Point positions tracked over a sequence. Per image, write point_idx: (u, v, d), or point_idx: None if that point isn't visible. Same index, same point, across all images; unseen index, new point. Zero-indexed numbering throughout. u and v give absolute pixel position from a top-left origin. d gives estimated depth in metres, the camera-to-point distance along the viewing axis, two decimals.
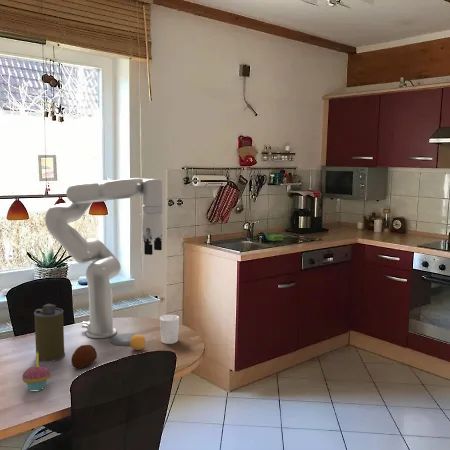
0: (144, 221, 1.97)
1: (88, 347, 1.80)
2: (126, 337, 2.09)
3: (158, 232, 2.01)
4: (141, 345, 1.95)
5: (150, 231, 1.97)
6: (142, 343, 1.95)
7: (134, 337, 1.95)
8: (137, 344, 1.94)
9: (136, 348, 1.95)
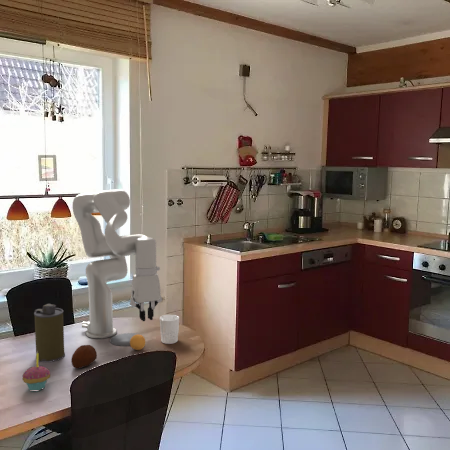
0: (132, 282, 1.84)
1: (88, 347, 1.80)
2: (126, 337, 2.09)
3: (148, 296, 1.84)
4: (141, 345, 1.95)
5: (134, 294, 1.82)
6: (142, 343, 1.95)
7: (134, 337, 1.95)
8: (137, 344, 1.94)
9: (136, 348, 1.95)
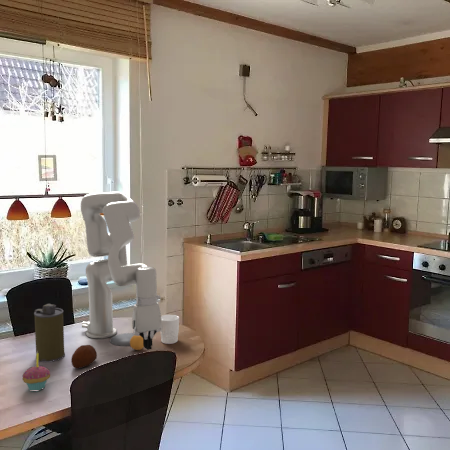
0: (133, 312, 1.85)
1: (88, 347, 1.80)
2: (126, 337, 2.09)
3: (149, 325, 1.85)
4: (141, 345, 1.95)
5: (135, 324, 1.83)
6: (142, 343, 1.95)
7: (134, 337, 1.95)
8: (137, 344, 1.94)
9: (136, 348, 1.95)
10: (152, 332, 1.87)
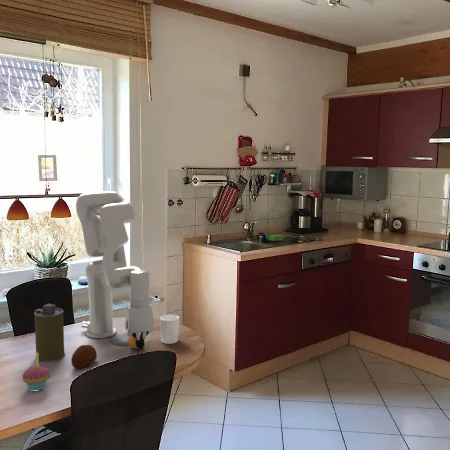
0: (126, 313, 1.92)
1: (88, 347, 1.80)
2: (126, 337, 2.09)
3: (142, 326, 1.92)
4: None
5: (128, 325, 1.90)
6: None
7: None
8: (135, 339, 1.96)
9: (135, 344, 1.96)
10: (144, 333, 1.93)
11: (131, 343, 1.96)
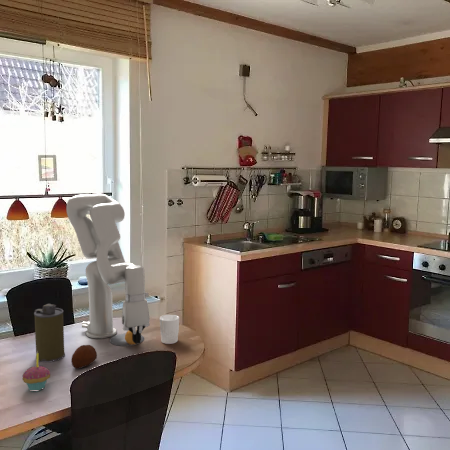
0: None
1: (88, 347, 1.80)
2: None
3: (138, 321, 1.96)
4: None
5: (124, 319, 1.94)
6: None
7: None
8: None
9: (131, 334, 2.00)
10: (141, 327, 1.97)
11: (127, 335, 2.00)
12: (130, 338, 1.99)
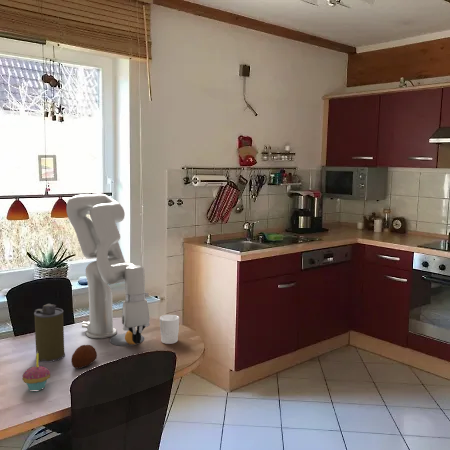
0: None
1: (88, 347, 1.80)
2: None
3: (138, 321, 1.96)
4: None
5: (124, 319, 1.94)
6: None
7: None
8: None
9: (131, 334, 2.00)
10: (141, 327, 1.97)
11: (127, 335, 2.00)
12: (130, 338, 1.99)
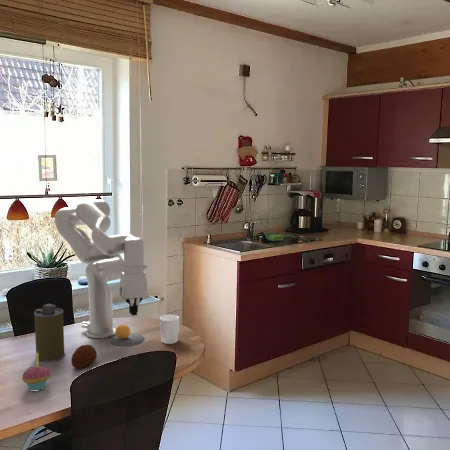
0: (120, 279, 1.95)
1: (88, 347, 1.80)
2: None
3: (135, 293, 1.95)
4: None
5: (122, 290, 1.93)
6: None
7: (122, 338, 2.07)
8: None
9: None
10: (138, 299, 1.97)
11: None
12: None
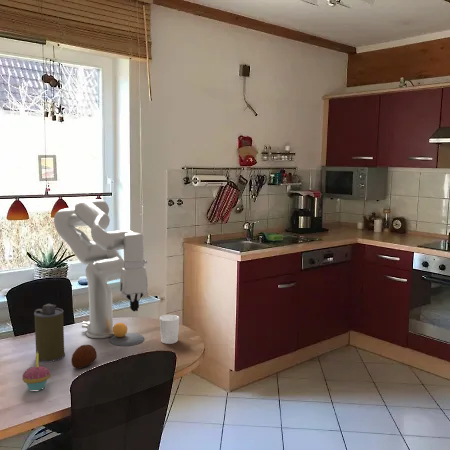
0: (120, 275, 1.95)
1: (88, 347, 1.80)
2: (126, 337, 2.09)
3: (136, 288, 1.94)
4: None
5: (122, 286, 1.93)
6: None
7: (121, 333, 2.07)
8: None
9: None
10: (139, 295, 1.96)
11: (114, 334, 2.09)
12: None
